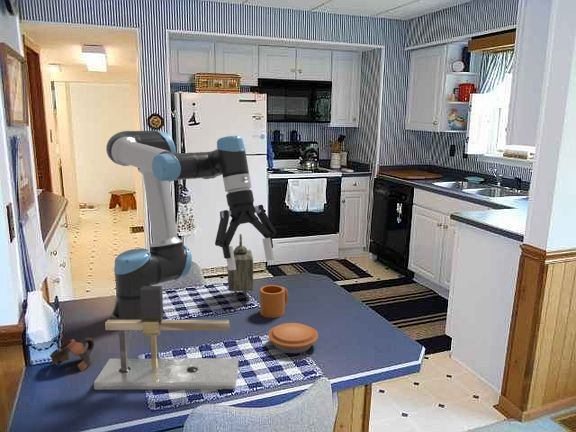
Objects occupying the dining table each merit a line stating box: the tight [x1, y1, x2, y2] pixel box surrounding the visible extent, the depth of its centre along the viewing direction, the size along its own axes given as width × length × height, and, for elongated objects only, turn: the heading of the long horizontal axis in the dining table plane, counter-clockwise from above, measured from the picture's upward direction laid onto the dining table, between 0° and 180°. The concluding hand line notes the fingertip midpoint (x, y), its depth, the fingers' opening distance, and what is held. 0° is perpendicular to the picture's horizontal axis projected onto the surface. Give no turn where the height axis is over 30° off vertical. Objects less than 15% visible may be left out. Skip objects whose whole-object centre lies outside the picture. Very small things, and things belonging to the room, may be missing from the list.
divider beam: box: [104, 319, 231, 371], centre depth 123 cm, size 2×32×14 cm, turn 92°
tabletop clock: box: [227, 233, 254, 302], centre depth 180 cm, size 14×9×25 cm, turn 9°
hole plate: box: [93, 357, 240, 391], centre depth 125 cm, size 12×36×2 cm, turn 92°
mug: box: [259, 284, 289, 319], centre depth 168 cm, size 9×12×9 cm
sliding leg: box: [140, 285, 164, 369], centre depth 122 cm, size 5×5×23 cm
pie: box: [267, 322, 319, 355], centre depth 144 cm, size 15×16×5 cm
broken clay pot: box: [49, 337, 95, 372], centre depth 131 cm, size 12×10×8 cm
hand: (251, 265), depth 131 cm, fingers open, 13 cm apart
